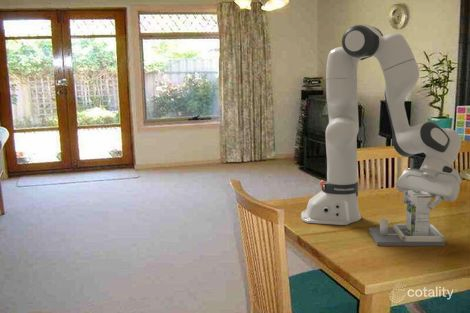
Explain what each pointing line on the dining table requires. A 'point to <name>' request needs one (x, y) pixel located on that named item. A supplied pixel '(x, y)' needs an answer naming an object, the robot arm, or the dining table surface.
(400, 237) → the grey holder tray
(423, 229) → the syrup box
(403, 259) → the dining table surface
